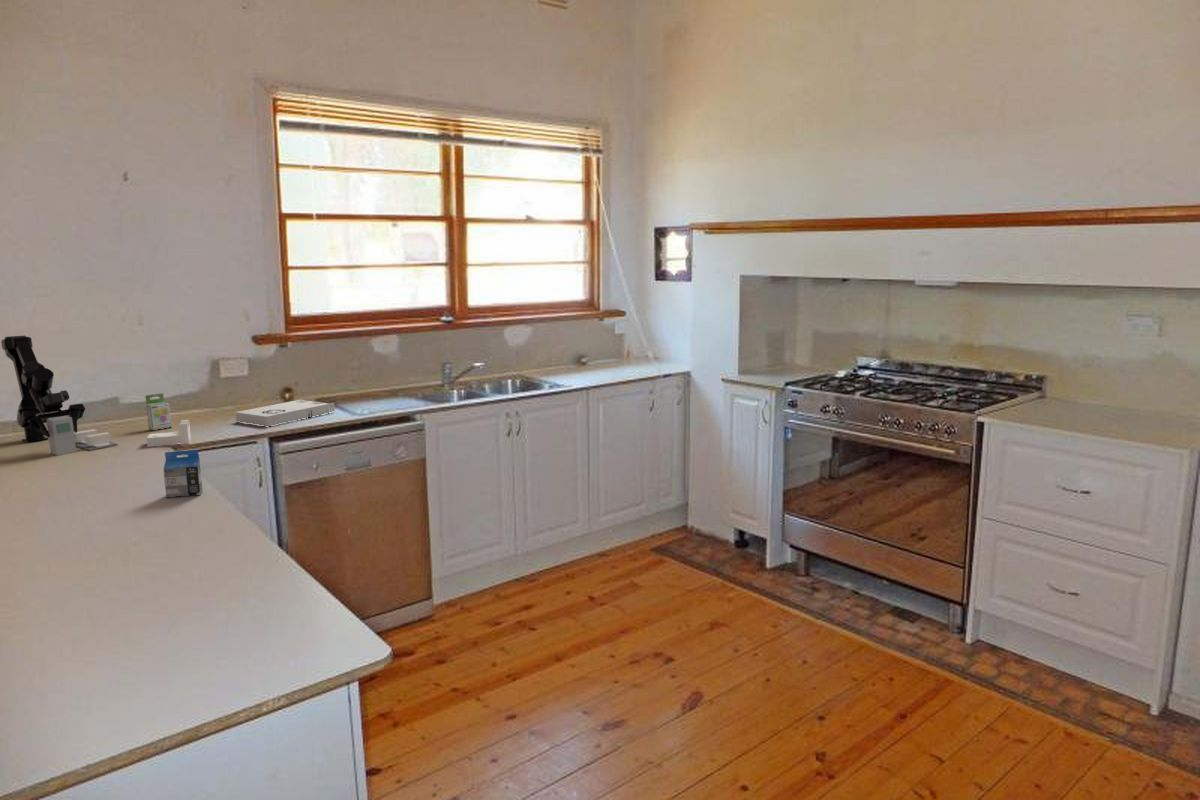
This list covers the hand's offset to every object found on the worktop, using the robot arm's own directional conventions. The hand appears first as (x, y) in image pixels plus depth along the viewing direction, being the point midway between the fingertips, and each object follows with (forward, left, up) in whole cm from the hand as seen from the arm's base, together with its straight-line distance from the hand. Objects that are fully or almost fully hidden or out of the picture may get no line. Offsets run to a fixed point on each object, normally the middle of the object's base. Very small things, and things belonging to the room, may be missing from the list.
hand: (63, 434), depth 281 cm
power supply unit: (+11, +78, -8) cm, 79 cm away
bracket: (+15, +27, -7) cm, 32 cm away
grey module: (-1, 0, -7) cm, 7 cm away
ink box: (-11, +38, -7) cm, 40 cm away
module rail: (-5, +11, -7) cm, 14 cm away
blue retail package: (+82, -3, -7) cm, 82 cm away
